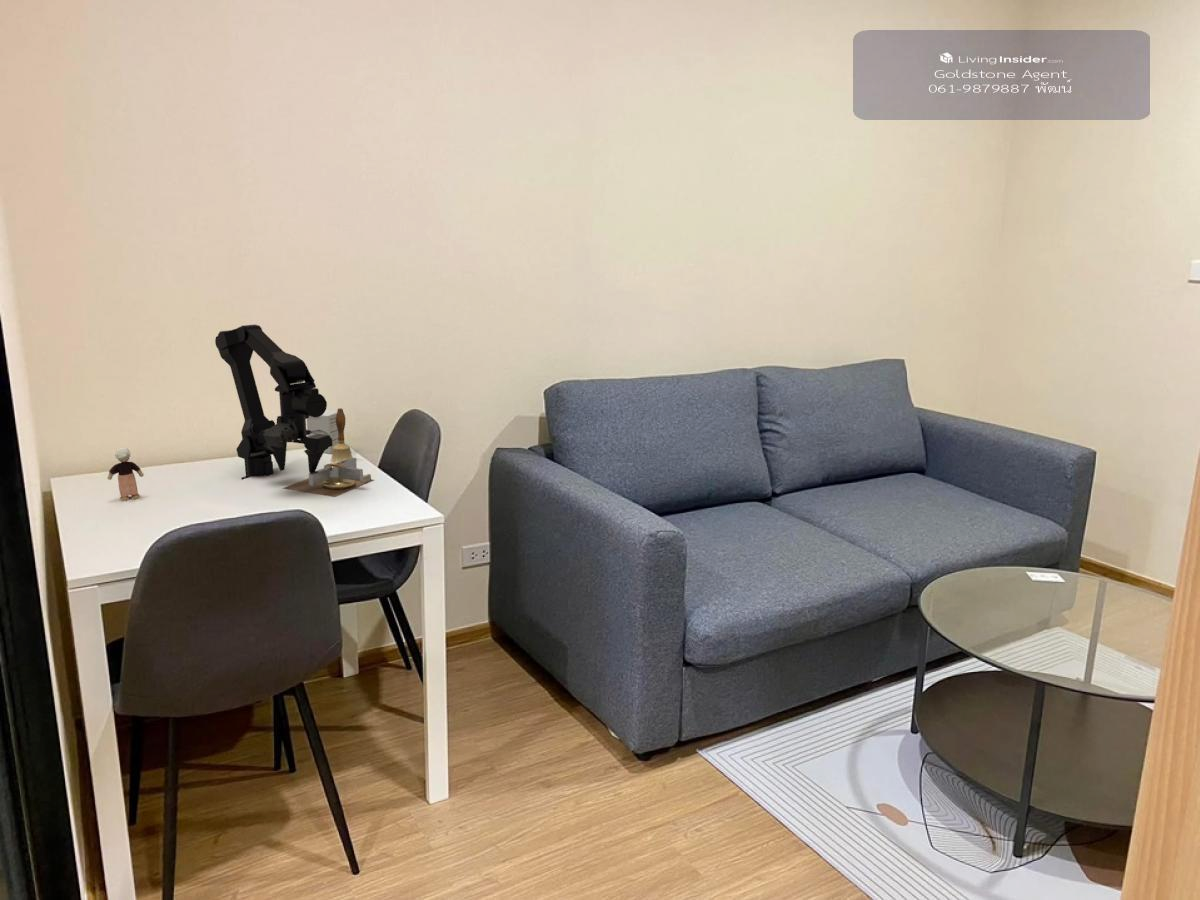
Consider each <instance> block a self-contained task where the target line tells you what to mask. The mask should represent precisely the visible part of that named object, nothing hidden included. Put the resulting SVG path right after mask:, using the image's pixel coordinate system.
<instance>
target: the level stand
mask: <svg viewBox="0 0 1200 900" xmlns="http://www.w3.org/2000/svg"><path fill="white" fill-rule="evenodd" d="M371 474H372V473H371ZM371 474H370V473H368V474H365V475H364V474H363V480H362V481H355V485H354V486H352V487H349V488H344V489H328V488H324V487H323V486H322V482H321V483H318V484H316V485H309V477H308V478H306V479H302V480H300V481H298V482H295V483H292V484H290V485H288V486H284V487H282V490H283V489H284V490H290V491H296V492H301V493H302V492H303V493H310V494H313V495H320V496H326V497H333V498H336V497H338V496H341V495H343V494H346V493H348V492H350V491H352V490H355V489H357V488H360V487H361V486H364V485H367V484H370V483H371V482H374V481H375V479H372V475H371Z"/></svg>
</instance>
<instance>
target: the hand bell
mask: <svg viewBox="0 0 1200 900" xmlns="http://www.w3.org/2000/svg"><path fill="white" fill-rule="evenodd" d="M336 411H337V414H336V426H337V429H338V444H337V445H336V446H334V447H333V454H332V455H331V459H330V460H329V461H330V462H331V463H339V462H342V461H344V460H347V459H350V458H354V457H353V455H352V452H351V447H350V445H348V444H346V443H345V427H346V415H345V413H344V410H343V408H341V407H340V408H339V407H338V408H337V410H336Z"/></svg>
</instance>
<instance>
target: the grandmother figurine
mask: <svg viewBox="0 0 1200 900" xmlns="http://www.w3.org/2000/svg"><path fill="white" fill-rule="evenodd" d="M131 454H132V453H131V451H130V449H129V448H128V447H120V448H117V450H116V452H115V455H114V456H115V459H117V460H118V461H119V463H116V464H114V465H113V466H112V467H110V470H108V471H109V472H108V475H107V480H110V481H111V480H113V476H114V475H117V474H118V475H117V480H118V490H119V494H120V495H119V496H120V497H119V500H121V501H129V500H130V498H131V499H132V500H135V499H136V500H137V499H139V498H140V497H141V494H139V490H138V484H137V480H136V475H135V473H134V472H136V474H138V476H139V477H140V478H142V477H144V475H145V474H144V472H143V470H141V468H140V467H139V465H137V464H136V463H135V462H133V461H129V460H130V457H131ZM129 496H130V497H129Z"/></svg>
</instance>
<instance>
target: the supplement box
mask: <svg viewBox="0 0 1200 900" xmlns="http://www.w3.org/2000/svg"><path fill="white" fill-rule="evenodd" d="M337 411H338V410H332V409H326V410H325V412H324V413H323V415H321V416H319V417H311V416H309V418H307V419H306V430H310V434H309V435H307V437H309V436H312V435H315V434H325V435H330V437H331V438H332V445H333V446H331V447H328V449H326V450H325V451H324V453H323V454H326V455H331V456H332V454H333V447H334V446H336V445H337V444H338V429H337V426H336V414H337Z"/></svg>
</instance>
